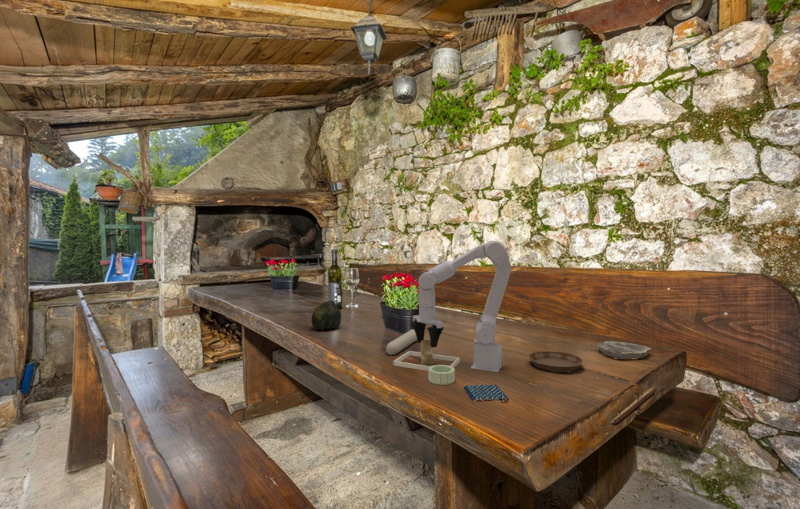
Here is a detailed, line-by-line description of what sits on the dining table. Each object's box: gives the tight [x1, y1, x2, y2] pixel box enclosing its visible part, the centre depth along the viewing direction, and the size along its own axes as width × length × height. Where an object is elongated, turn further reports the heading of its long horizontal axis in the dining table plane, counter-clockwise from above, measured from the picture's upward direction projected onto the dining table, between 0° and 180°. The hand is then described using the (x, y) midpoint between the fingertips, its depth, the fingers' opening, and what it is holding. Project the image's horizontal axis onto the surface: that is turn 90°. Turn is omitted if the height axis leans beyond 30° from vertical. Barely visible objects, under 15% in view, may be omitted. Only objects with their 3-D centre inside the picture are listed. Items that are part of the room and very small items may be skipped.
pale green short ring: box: [427, 364, 456, 386], centre depth 121 cm, size 8×8×4 cm
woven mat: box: [463, 384, 510, 404], centre depth 110 cm, size 10×11×2 cm
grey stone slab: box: [595, 340, 652, 360], centre depth 151 cm, size 20×17×3 cm
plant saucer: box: [528, 350, 584, 373], centre depth 137 cm, size 18×18×3 cm
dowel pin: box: [420, 339, 434, 366], centre depth 137 cm, size 4×4×8 cm
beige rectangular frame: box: [392, 350, 461, 372], centre depth 137 cm, size 20×14×2 cm
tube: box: [385, 328, 418, 356], centre depth 160 cm, size 5×5×25 cm
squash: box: [311, 300, 342, 331], centre depth 193 cm, size 14×15×15 cm
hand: (427, 344), depth 137 cm, fingers open, 7 cm apart
